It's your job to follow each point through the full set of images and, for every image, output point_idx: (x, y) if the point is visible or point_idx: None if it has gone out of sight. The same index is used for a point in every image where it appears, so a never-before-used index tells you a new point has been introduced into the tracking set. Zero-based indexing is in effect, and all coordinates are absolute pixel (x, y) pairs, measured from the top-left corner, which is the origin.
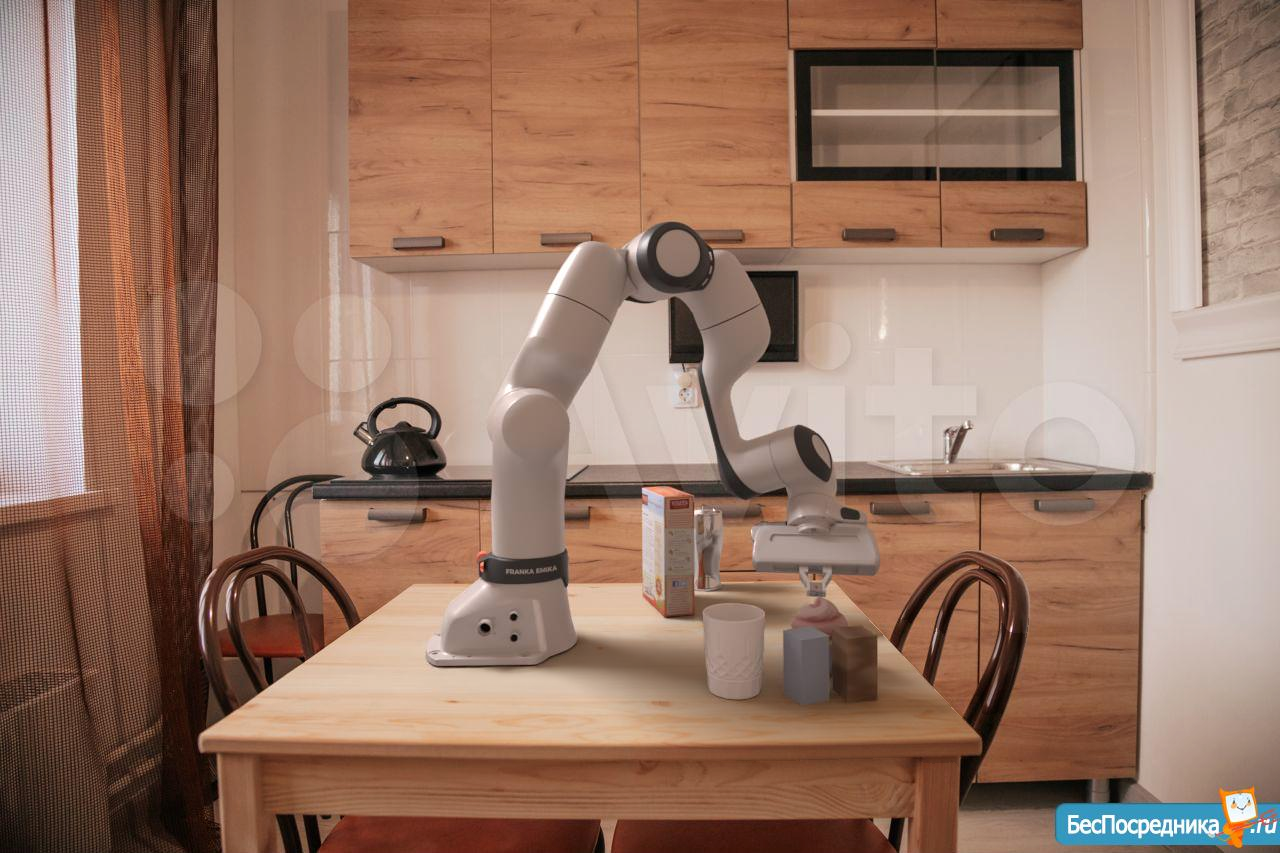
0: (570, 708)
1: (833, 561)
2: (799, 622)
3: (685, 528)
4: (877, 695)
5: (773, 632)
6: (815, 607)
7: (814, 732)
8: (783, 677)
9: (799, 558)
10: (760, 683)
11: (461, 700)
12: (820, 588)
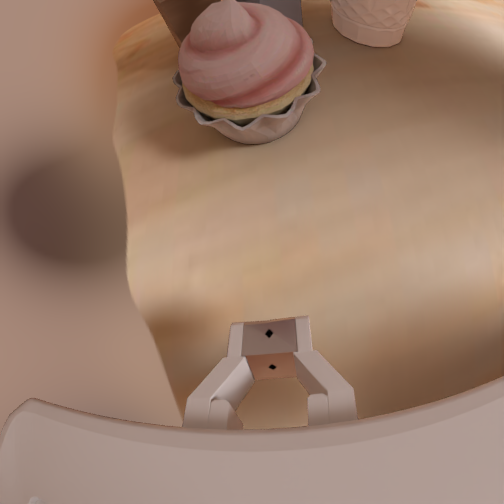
0: (472, 5)
1: (159, 435)
2: (286, 17)
3: None
4: (178, 45)
5: (389, 288)
6: (244, 8)
7: None
8: (301, 12)
9: (363, 440)
10: (332, 15)
11: None
12: (251, 329)
